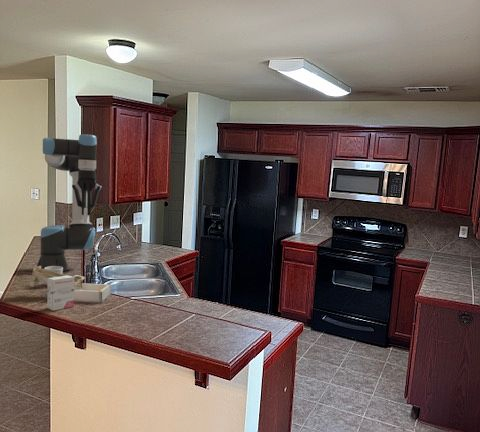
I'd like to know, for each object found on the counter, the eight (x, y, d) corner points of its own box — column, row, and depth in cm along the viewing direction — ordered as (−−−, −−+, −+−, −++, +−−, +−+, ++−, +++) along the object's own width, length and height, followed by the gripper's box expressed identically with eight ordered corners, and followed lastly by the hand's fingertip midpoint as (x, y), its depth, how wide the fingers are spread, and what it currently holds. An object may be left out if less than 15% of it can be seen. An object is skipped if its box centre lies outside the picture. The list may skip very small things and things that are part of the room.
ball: (106, 293, 188) (99, 296, 188) (102, 286, 188) (96, 290, 188) (104, 295, 185) (97, 299, 185) (100, 288, 184) (93, 292, 185)
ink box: (68, 304, 176) (69, 274, 175) (74, 306, 173) (74, 276, 172) (46, 308, 170) (46, 277, 169) (52, 311, 167) (52, 279, 166)
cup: (52, 289, 197) (52, 271, 196) (36, 287, 198) (36, 269, 197) (66, 283, 207) (66, 266, 206) (50, 282, 209) (51, 265, 208)
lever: (45, 277, 198) (49, 261, 198) (82, 288, 198) (86, 272, 198) (29, 286, 183) (33, 268, 183) (69, 297, 183) (73, 279, 183)
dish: (82, 293, 192) (82, 283, 192) (110, 294, 192) (111, 284, 191) (71, 301, 180) (71, 290, 180) (101, 302, 180) (102, 291, 180)
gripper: (69, 169, 195) (68, 222, 197) (99, 170, 195) (98, 224, 197) (75, 169, 203) (75, 221, 205) (104, 170, 202) (103, 222, 205)
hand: (86, 222), depth 201 cm, fingers closed
